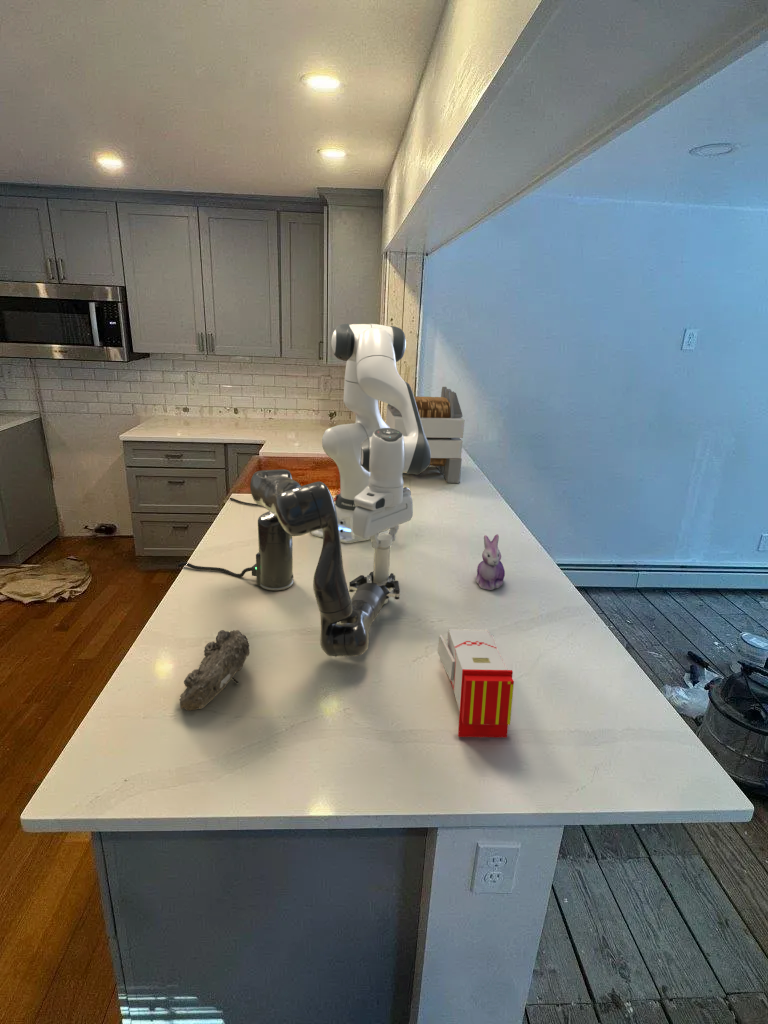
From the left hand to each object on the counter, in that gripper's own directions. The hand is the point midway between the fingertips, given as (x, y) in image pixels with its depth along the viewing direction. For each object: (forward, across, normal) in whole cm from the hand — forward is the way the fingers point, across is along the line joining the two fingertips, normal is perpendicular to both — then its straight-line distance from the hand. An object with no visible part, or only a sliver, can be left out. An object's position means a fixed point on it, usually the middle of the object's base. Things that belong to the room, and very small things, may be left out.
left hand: (383, 575), depth 154 cm
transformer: (+126, +14, +6) cm, 127 cm away
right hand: (-3, 0, -10) cm, 11 cm away
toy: (-34, -28, +6) cm, 45 cm away
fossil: (-47, +23, +6) cm, 53 cm away
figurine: (+18, -28, +6) cm, 34 cm away
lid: (-3, 0, -12) cm, 12 cm away
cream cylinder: (-3, 0, +6) cm, 7 cm away
